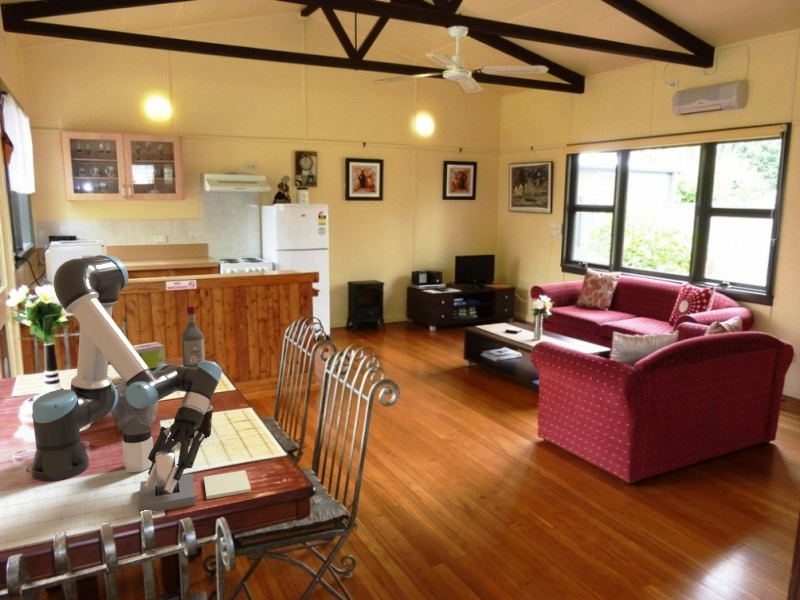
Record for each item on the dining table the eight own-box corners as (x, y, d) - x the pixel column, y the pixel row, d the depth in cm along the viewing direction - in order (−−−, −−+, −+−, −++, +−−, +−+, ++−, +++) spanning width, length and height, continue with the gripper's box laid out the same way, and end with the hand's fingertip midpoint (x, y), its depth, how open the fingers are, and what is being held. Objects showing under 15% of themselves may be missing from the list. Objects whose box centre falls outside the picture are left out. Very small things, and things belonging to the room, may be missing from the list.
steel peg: (158, 503, 161) (155, 458, 159) (158, 494, 166) (155, 451, 164) (177, 500, 163) (174, 455, 161) (177, 491, 168) (174, 448, 165)
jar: (158, 460, 187) (155, 424, 185) (150, 472, 179) (147, 434, 177) (128, 461, 186) (126, 425, 184) (119, 473, 178) (116, 435, 176)
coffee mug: (206, 442, 201) (204, 414, 199) (183, 439, 203) (181, 412, 201) (222, 429, 212) (221, 402, 210) (200, 426, 214) (199, 400, 212)
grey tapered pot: (108, 422, 217) (105, 383, 214) (160, 414, 225) (157, 377, 222) (110, 440, 201) (106, 398, 199) (165, 431, 209) (162, 391, 207)
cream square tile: (206, 499, 164) (206, 496, 163) (203, 479, 175) (203, 476, 174) (251, 491, 168) (250, 488, 168) (245, 473, 179) (245, 470, 179)
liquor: (206, 368, 284) (202, 307, 278) (186, 371, 279) (182, 309, 274) (201, 363, 291) (198, 304, 286) (182, 366, 287) (179, 305, 282)
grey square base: (139, 514, 156) (138, 505, 155) (141, 489, 168) (140, 481, 168) (195, 504, 161) (195, 496, 160) (193, 481, 173) (192, 473, 173)
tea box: (159, 371, 279) (157, 340, 276) (167, 376, 271) (165, 345, 269) (125, 377, 269) (123, 345, 267) (132, 382, 262) (130, 350, 259)
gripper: (225, 420, 173) (194, 499, 161) (171, 413, 178) (136, 489, 166) (214, 409, 167) (180, 490, 155) (158, 402, 172) (121, 480, 160)
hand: (158, 489), depth 160 cm, fingers open, 6 cm apart
